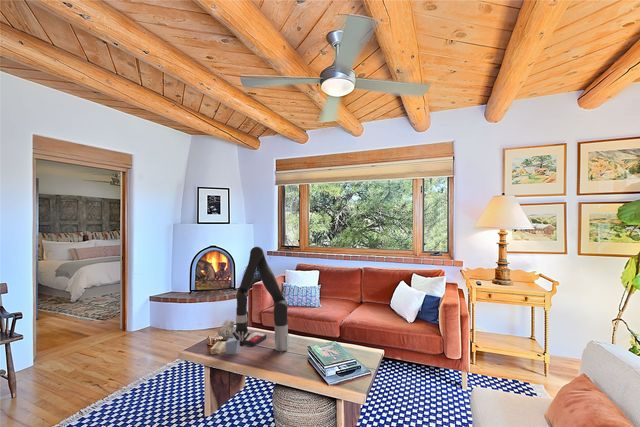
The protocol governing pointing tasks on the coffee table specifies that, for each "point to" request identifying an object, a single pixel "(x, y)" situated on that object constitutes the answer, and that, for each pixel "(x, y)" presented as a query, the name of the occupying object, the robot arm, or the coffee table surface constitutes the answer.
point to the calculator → (255, 339)
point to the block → (232, 346)
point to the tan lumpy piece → (218, 347)
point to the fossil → (227, 330)
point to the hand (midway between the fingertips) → (241, 346)
